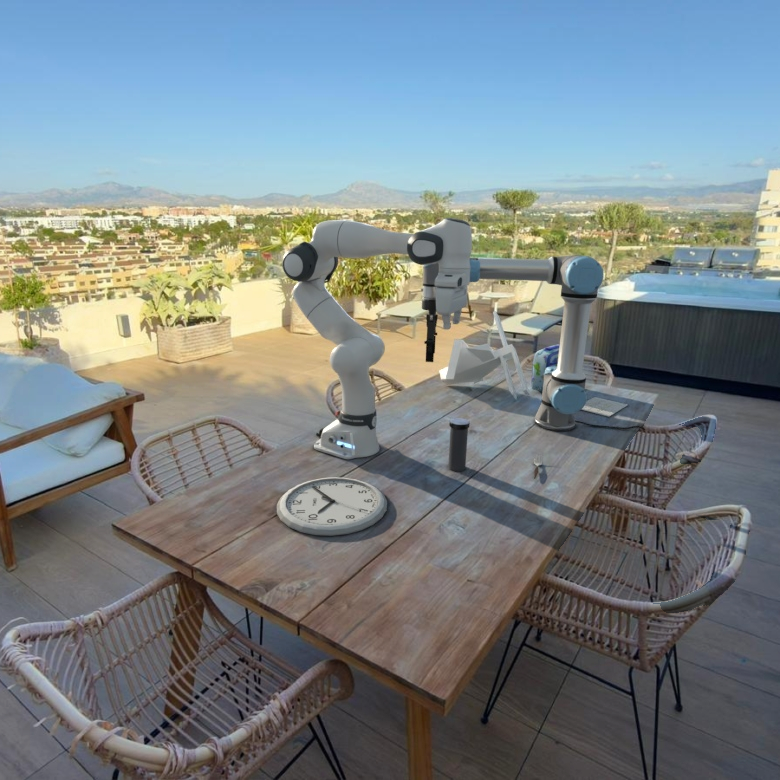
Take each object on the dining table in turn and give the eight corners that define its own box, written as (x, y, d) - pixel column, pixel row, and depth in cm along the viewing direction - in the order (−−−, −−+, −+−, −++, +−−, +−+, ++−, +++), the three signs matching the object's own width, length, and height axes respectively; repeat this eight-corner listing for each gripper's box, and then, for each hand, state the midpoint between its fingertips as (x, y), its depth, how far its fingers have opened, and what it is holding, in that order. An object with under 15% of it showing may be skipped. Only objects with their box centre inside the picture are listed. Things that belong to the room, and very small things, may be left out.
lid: (469, 430, 159) (469, 425, 159) (449, 429, 160) (449, 424, 159) (469, 423, 165) (469, 418, 164) (449, 422, 166) (449, 417, 165)
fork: (529, 479, 159) (530, 473, 158) (534, 459, 173) (535, 453, 173) (538, 481, 158) (539, 475, 158) (543, 460, 172) (543, 454, 172)
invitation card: (608, 416, 214) (573, 407, 224) (608, 416, 214) (573, 408, 224) (628, 404, 229) (594, 396, 238) (628, 405, 229) (594, 397, 238)
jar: (465, 472, 164) (468, 426, 159) (448, 470, 164) (450, 425, 160) (465, 464, 169) (468, 420, 164) (448, 463, 169) (451, 419, 165)
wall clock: (392, 527, 129) (268, 531, 127) (391, 533, 130) (269, 537, 127) (383, 473, 158) (282, 475, 155) (383, 478, 158) (282, 480, 156)
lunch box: (547, 397, 237) (552, 352, 231) (526, 391, 245) (531, 348, 238) (574, 386, 255) (580, 344, 249) (554, 381, 262) (559, 340, 256)
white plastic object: (461, 429, 252) (437, 405, 227) (444, 352, 274) (420, 323, 250) (535, 404, 240) (518, 377, 215) (510, 326, 262) (492, 293, 237)
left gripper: (453, 274, 159) (451, 320, 163) (432, 280, 141) (430, 331, 145) (473, 276, 157) (470, 321, 161) (455, 281, 139) (452, 333, 143)
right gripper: (424, 293, 195) (422, 349, 202) (419, 302, 172) (417, 365, 178) (444, 294, 195) (441, 350, 201) (442, 303, 171) (439, 366, 177)
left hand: (451, 326), depth 153 cm, fingers open, 8 cm apart
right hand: (430, 357), depth 190 cm, fingers open, 13 cm apart
